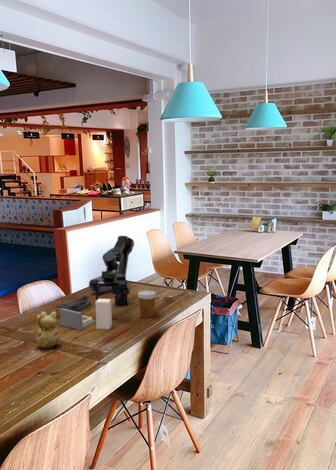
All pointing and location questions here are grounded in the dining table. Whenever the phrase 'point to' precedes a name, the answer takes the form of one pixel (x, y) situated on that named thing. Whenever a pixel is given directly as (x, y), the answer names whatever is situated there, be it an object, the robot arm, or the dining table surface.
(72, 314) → the board
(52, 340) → the decorative figurine
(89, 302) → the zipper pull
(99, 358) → the dining table surface
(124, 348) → the dining table surface
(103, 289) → the bluetooth speaker
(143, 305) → the disposable coffee cup
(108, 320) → the white cabinet
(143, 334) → the dining table surface
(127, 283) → the robot arm
